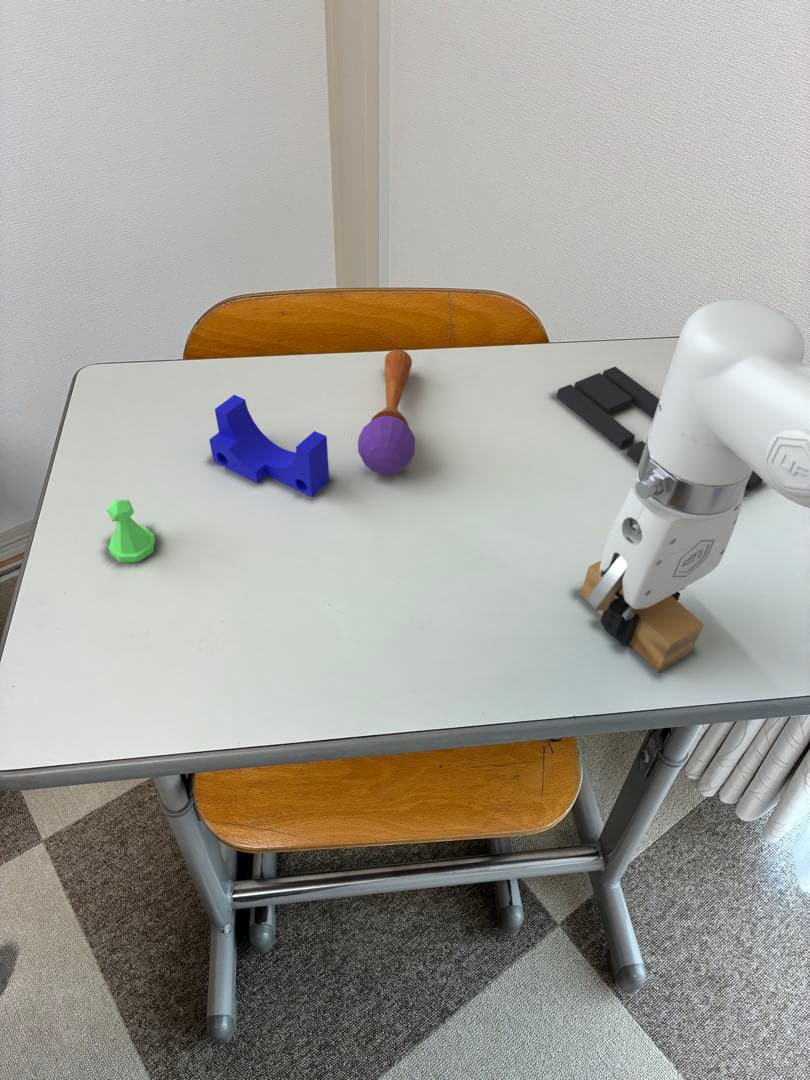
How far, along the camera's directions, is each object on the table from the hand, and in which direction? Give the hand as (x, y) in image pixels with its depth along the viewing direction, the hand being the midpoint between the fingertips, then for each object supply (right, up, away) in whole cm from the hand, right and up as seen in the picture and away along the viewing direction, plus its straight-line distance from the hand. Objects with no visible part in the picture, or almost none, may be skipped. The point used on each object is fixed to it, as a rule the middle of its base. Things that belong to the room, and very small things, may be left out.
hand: (634, 620), depth 71 cm
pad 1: (+4, +22, +21) cm, 31 cm away
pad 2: (+10, +15, +15) cm, 23 cm away
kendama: (-22, +20, +19) cm, 35 cm away
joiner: (0, 0, 0) cm, 0 cm away
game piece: (-47, +6, +5) cm, 47 cm away
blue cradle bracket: (-35, +14, +13) cm, 40 cm away
